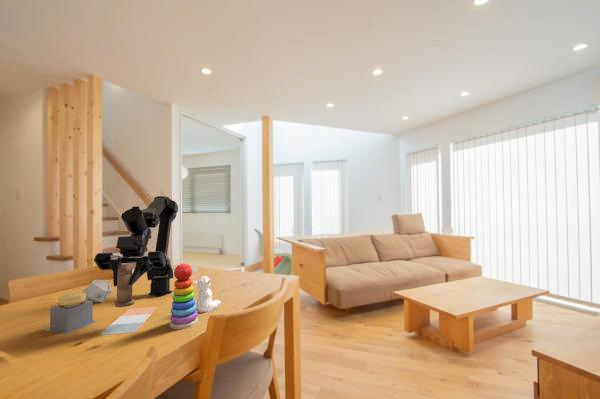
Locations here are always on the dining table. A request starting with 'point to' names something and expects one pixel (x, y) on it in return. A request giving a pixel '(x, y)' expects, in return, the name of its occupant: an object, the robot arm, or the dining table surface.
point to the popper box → (70, 317)
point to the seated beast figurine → (205, 296)
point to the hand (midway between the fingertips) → (122, 285)
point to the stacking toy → (183, 299)
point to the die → (98, 291)
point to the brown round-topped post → (124, 286)
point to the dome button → (71, 299)
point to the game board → (129, 321)
